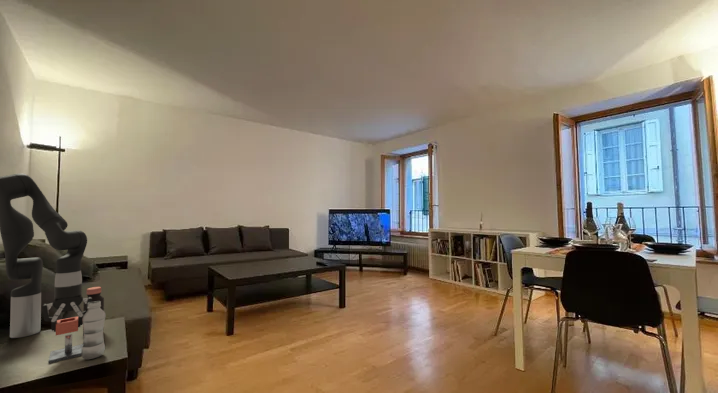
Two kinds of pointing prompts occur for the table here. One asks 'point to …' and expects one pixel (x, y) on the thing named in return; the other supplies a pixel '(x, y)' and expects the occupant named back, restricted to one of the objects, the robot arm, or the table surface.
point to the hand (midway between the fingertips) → (67, 328)
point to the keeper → (66, 351)
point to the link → (67, 325)
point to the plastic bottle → (93, 331)
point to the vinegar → (94, 298)
